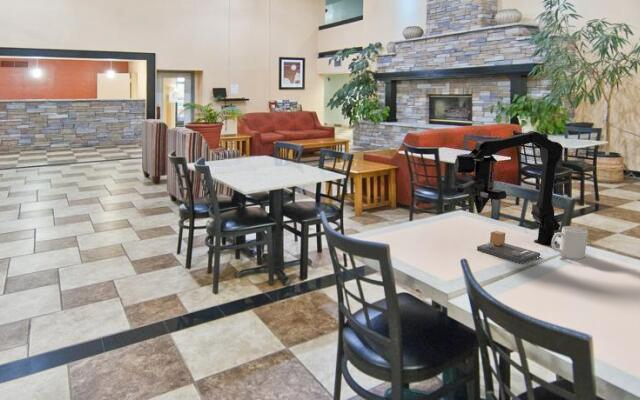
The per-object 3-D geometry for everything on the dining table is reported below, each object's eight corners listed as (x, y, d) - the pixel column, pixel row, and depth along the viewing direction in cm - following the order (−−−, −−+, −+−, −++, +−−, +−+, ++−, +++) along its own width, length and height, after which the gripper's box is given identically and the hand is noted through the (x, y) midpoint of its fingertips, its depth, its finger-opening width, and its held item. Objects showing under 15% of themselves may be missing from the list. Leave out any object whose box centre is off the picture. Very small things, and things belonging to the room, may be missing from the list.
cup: (589, 260, 174) (593, 232, 172) (555, 260, 174) (558, 232, 171) (576, 252, 182) (580, 226, 180) (544, 252, 182) (547, 225, 180)
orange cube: (496, 241, 188) (497, 230, 187) (504, 244, 185) (505, 232, 184) (489, 243, 186) (490, 232, 185) (498, 245, 183) (499, 234, 182)
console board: (496, 244, 191) (496, 236, 190) (539, 257, 177) (540, 249, 176) (476, 250, 184) (477, 242, 183) (521, 263, 170) (522, 255, 169)
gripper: (448, 172, 189) (446, 211, 193) (490, 179, 175) (487, 221, 178) (466, 169, 196) (464, 207, 199) (508, 176, 181) (505, 217, 185)
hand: (479, 213), depth 190 cm, fingers closed
